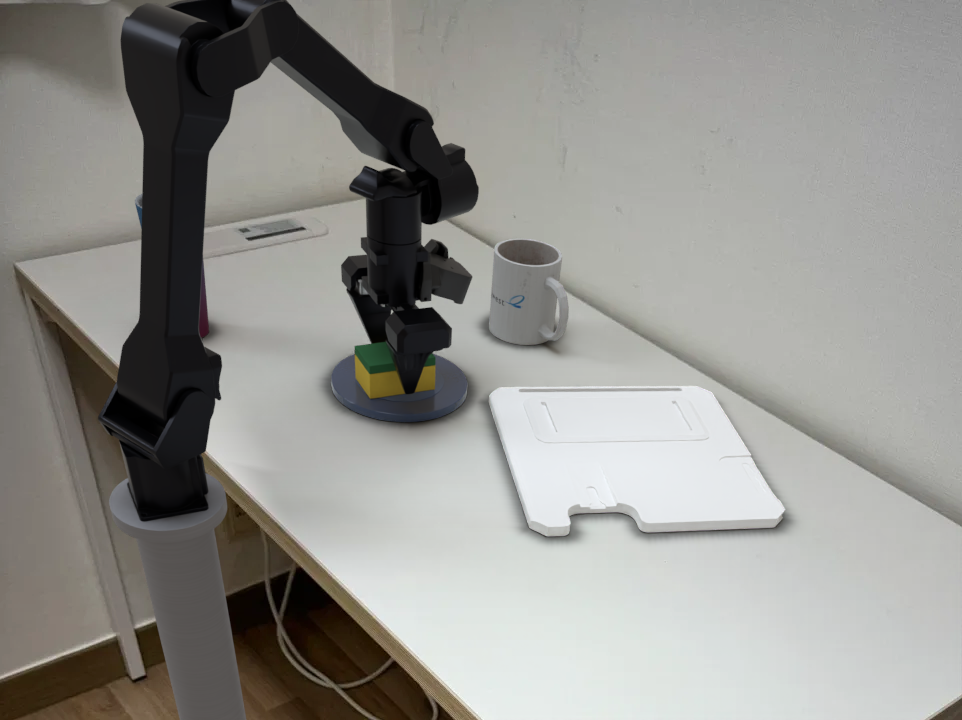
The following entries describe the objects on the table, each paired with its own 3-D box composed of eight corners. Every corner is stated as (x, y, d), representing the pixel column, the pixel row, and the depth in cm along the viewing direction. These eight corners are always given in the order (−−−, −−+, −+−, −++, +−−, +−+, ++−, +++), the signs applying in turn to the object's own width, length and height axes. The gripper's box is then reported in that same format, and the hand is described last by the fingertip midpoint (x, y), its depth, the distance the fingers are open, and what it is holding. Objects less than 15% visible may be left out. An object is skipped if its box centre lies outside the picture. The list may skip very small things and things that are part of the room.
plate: (358, 431, 109) (358, 423, 108) (313, 364, 118) (312, 355, 117) (488, 410, 115) (489, 402, 114) (436, 347, 124) (436, 340, 123)
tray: (787, 527, 104) (791, 515, 103) (532, 537, 98) (533, 524, 97) (705, 394, 123) (708, 383, 122) (486, 396, 117) (487, 384, 116)
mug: (477, 319, 130) (482, 242, 123) (533, 311, 134) (541, 235, 127) (521, 362, 124) (528, 282, 116) (579, 352, 127) (589, 274, 120)
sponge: (370, 399, 112) (369, 366, 109) (355, 378, 115) (354, 345, 112) (435, 389, 115) (435, 357, 112) (419, 369, 118) (419, 337, 115)
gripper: (501, 264, 100) (491, 403, 111) (431, 196, 111) (428, 330, 122) (398, 274, 96) (399, 418, 107) (336, 202, 107) (342, 340, 118)
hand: (394, 374), depth 114 cm, fingers open, 9 cm apart
